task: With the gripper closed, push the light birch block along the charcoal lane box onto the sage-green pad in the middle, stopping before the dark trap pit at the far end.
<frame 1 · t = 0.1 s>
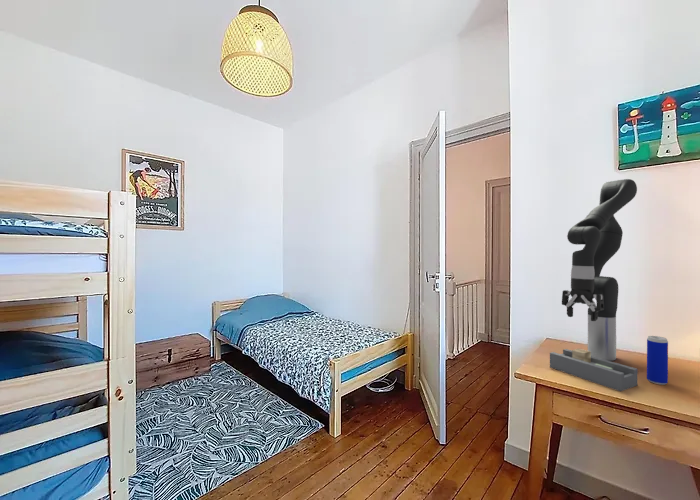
hand: (581, 318, 128), 17 cm above the table, tool pointing down, fingers open, 8 cm apart
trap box: (590, 375, 116), on the table
birch block: (581, 361, 119), point 4 cm above the table, touching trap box
blue cylinder: (657, 382, 110), on the table
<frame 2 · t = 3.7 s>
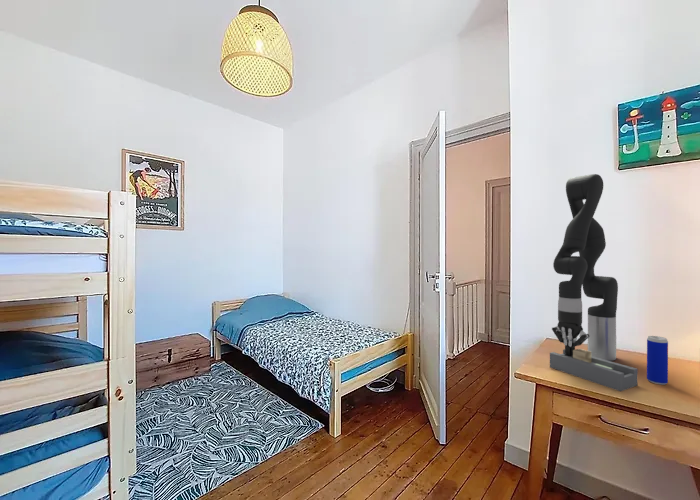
hand: (569, 355, 123), 5 cm above the table, tool pointing down, fingers closed
birch block: (582, 361, 119), point 4 cm above the table, touching gripper, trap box
everything else where it was.
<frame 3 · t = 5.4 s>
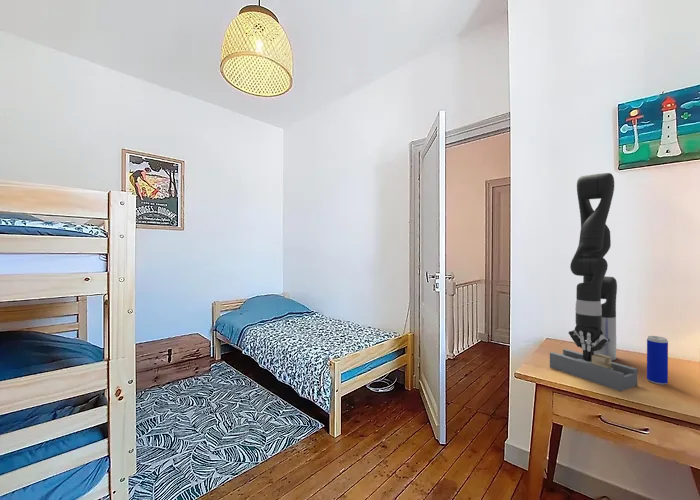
hand: (588, 360, 117), 5 cm above the table, tool pointing down, fingers closed
birch block: (601, 367, 113), point 4 cm above the table, touching gripper, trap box
everything else where it was.
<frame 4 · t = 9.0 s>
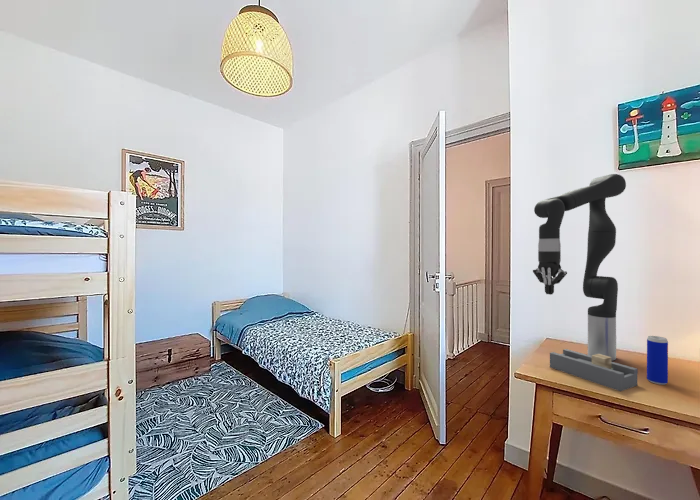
hand: (549, 294, 129), 27 cm above the table, tool pointing down, fingers closed
birch block: (601, 367, 113), point 4 cm above the table, touching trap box
everything else where it was.
at the end: birch block 0.9 cm from the target spot on the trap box, point 4.0 cm above the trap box's base; birch block tilted 0°; birch block moved 6.6 cm from its start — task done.
